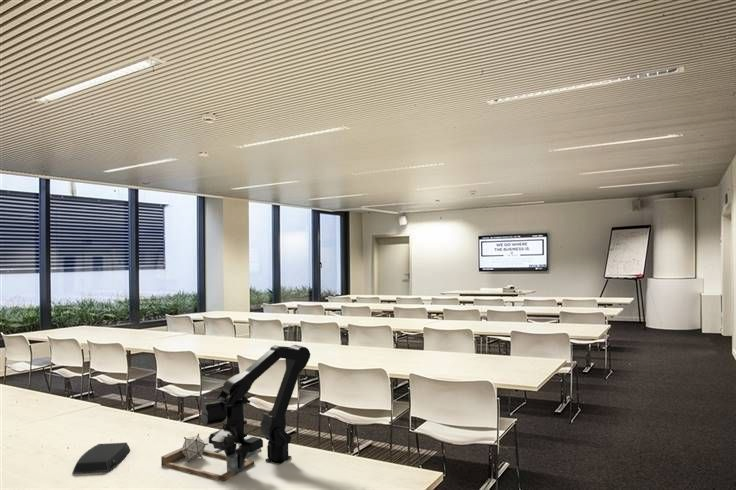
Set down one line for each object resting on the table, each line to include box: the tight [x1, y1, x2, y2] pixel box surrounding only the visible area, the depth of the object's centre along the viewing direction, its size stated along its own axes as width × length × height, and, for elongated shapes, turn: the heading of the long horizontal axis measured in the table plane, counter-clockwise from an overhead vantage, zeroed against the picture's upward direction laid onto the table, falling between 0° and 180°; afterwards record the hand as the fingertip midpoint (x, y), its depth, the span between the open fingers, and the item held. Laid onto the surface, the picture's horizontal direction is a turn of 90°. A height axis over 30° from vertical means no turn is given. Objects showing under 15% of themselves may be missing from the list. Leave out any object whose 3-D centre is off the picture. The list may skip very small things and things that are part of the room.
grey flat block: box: [201, 435, 262, 459], centre depth 192 cm, size 26×10×6 cm, turn 61°
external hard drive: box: [71, 442, 131, 475], centre depth 183 cm, size 13×19×4 cm
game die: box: [179, 433, 208, 463], centre depth 183 cm, size 9×8×10 cm
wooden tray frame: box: [160, 447, 255, 482], centre depth 178 cm, size 28×14×6 cm, turn 61°
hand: (235, 467), depth 172 cm, fingers open, 3 cm apart
